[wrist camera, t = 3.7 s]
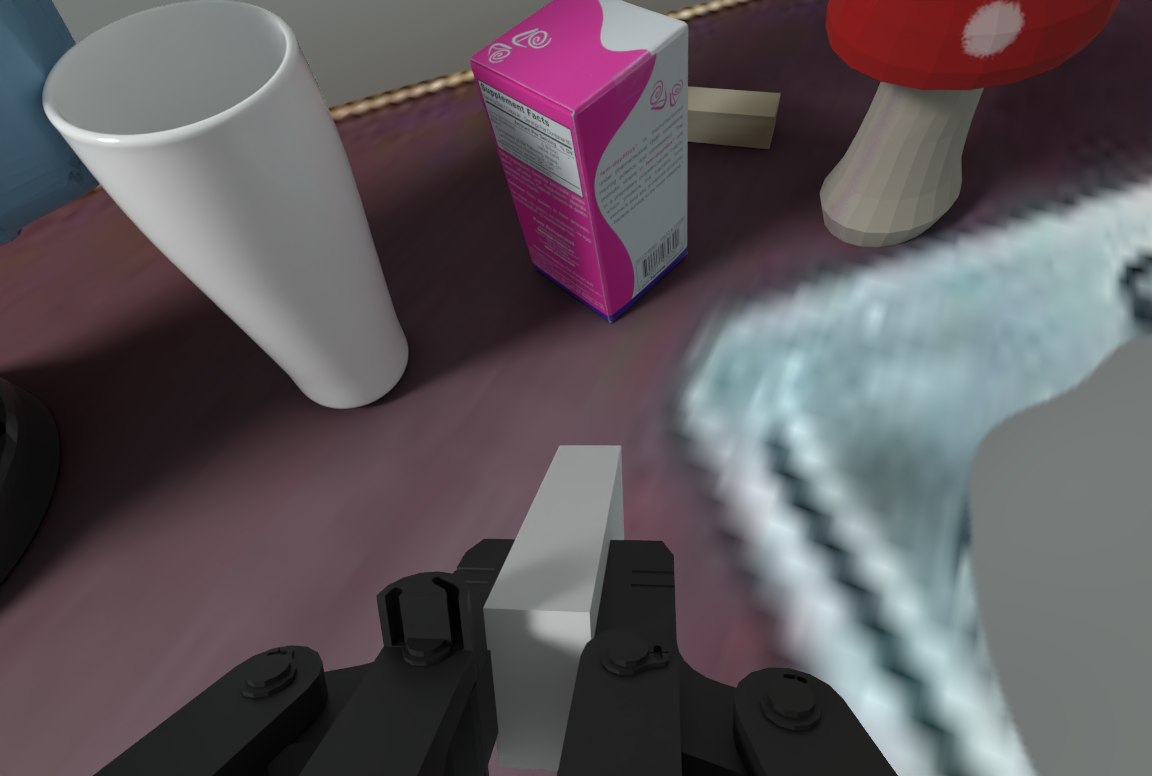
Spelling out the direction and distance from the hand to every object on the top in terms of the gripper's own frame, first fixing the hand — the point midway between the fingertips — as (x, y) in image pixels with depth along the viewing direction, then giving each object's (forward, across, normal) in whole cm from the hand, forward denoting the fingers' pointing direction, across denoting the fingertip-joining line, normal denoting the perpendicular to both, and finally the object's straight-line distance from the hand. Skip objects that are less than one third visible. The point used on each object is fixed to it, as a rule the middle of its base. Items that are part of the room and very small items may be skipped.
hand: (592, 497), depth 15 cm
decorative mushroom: (+20, +13, +6) cm, 24 cm away
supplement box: (+18, -1, +5) cm, 19 cm away
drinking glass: (+13, -13, 0) cm, 19 cm away
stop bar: (+25, +1, +12) cm, 28 cm away
